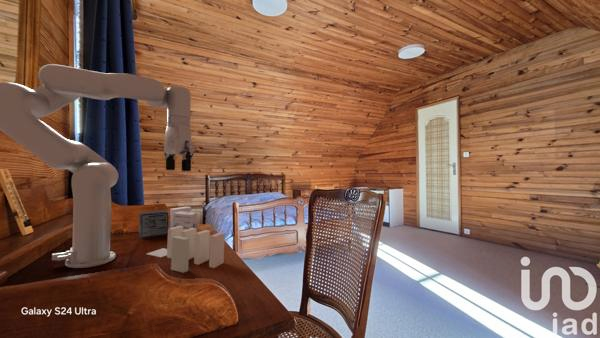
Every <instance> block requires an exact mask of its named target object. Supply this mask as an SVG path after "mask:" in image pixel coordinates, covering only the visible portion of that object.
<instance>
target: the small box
mask: <svg viewBox="0 0 600 338" xmlns="http://www.w3.org/2000/svg"><path fill="white" fill-rule="evenodd" d="M138 215H139V219H138V221H139V223H138V236H139V238H140V239H148V238H155V237H164V236H168V229H169V211H167V210H165V209H162V210H152V211H140V212H139V214H138Z"/></svg>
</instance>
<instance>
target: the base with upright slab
mask: <svg viewBox="0 0 600 338" xmlns="http://www.w3.org/2000/svg"><path fill="white" fill-rule="evenodd" d="M180 211H182V212H192V206H182V207H175V208H174V207H173V208H170V211H169V212H170V213H169V222H168V229H169V228H173V214H174V213H177V212H180Z"/></svg>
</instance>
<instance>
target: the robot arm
mask: <svg viewBox="0 0 600 338" xmlns="http://www.w3.org/2000/svg"><path fill="white" fill-rule="evenodd" d="M37 76H38V80H39V82H40V84H41V85H39V86H38V87H36V88H33V89H31V88H29V87H27V86H25V85H22V84H19V83H15V82H7V81H5V82H4V81H3V82H0V132H2V133H3V134H5V135H6V136H7V137H9V138H10V139H12V140H13V141H15V143H17V144H19V145H20V146H21V147H23V148H24V149H25V150H26V151H28V152H29V153H31V154H33V156H36V158H39V159H40V160H41V161H42V162H44V163H46V164H47V166H49V167H50V168H53V169H55V170H62V171H63V170H64V171H65V170H68V171H69V172H71V173H72V176H71V192H72V198H73V199H72V201H73V203H72V204H73V206H72V207H73V209H72V211H73V212H72V214H73V215H72V247H70V250H66V251H65V252H55V253H52V254H51V261H57V262H59V261H65V262H64V264H65V266H66V267H67V268H72V269H84V268H92V267H98V266H101V265H102V266H103V265H105V264H108V263H110V262H112V261H113V260H115V259H116V253H115V252H114V251H112V250H111V232H112V230H111V229H112V228H111V227H112V224H111V223H112V193H111V188H112V187H114V186H115V185H116V184H117V182H118V180H119V172H118V170H117V169H116V167H115V166H114V165H112V163H110V162H108V161H107V159H105V158H104V157H102V156H101V155H99V154H98V153H96V151H94V150H92V149H91V148H90V147H89V146H87V145H85V144H84V143H82V142H80V141H75V140H72V139H71V140H70V139H67V138H66V137H64V136H63V135H61V134H60V133H58V132H57V131H56V130H55V129H53V128H52V127H51V126H50V125H48V124H46V123H45V122H44V121H42V120H40V119H41V118H45V117H47V116H50V115H51V114H53V113H55V112H57V111H58V110H59V111H60V110H61V109H62V108H63V107H66V106H68V105H69V104H71V103H74V102H75V101H76V100H78V99H80V98H89V99H93V100H99V101H100V100H101V101H110V100H111V99H115V98H122V99H123V98H125V99H133V100H139V101H144V102H145V104H147V105H148V106H149V107H152V108H155V109H157V108H158V109H161V108H162V109H163V108H167V109H166V112H167V113H166V129H165V133H164V143H163V145H164V146H163V152H164V159H165V171H175V170H176V159H175V157H176V155H180V156H181V157H182V159H181V172H191V170H192V160H193V156H194V152H195V149H196V148H195V146H194V145H193V143H192V133H191V132H192V131H191V103H192V102H191V101H192V100H191V99H192V97H191V95H192V93H191V91H190V89H188V88H187V87H183V86H179V85H175V86H174V85H173V86H169V87H168V88H165V85H164V84H162V82H160V81H159V80H157V79H155V78H153V77H152V78H151V77H147V76H140V75H136V74H133V73H122V72H121V73H120V72H119V73H115V72H108V73H105V72H99V71H95V70H88V69H83V68H78V67H72V66H69V65H68V66H66V65H62V64H61V65H60V64H55V63H52V64H51V63H50V64H49V63H48V64H46V65H44V66H42V67H41V68H40V69H39V70H38V73H37Z"/></svg>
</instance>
